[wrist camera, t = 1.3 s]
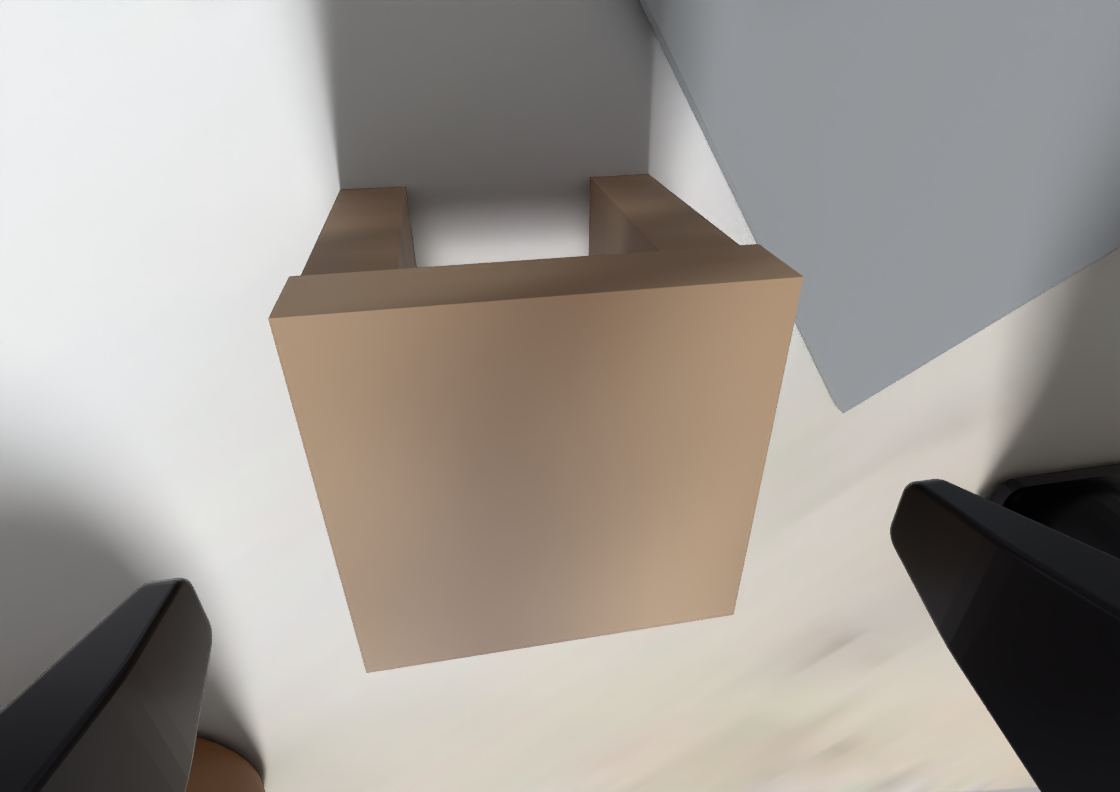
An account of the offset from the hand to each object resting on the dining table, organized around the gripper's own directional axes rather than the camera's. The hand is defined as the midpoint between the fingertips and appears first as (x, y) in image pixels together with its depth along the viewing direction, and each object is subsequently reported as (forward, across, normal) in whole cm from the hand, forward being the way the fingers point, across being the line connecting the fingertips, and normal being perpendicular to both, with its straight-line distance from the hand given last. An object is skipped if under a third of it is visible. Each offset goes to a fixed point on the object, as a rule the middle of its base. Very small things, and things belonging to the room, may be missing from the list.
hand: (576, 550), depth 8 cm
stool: (+7, 0, 0) cm, 7 cm away
